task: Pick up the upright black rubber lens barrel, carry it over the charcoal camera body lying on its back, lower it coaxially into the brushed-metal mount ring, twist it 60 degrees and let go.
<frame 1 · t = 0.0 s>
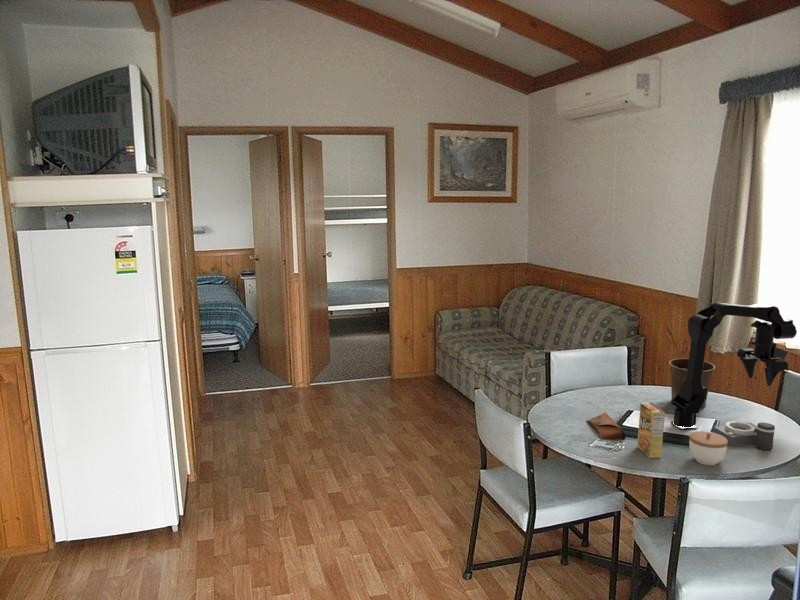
hand: (759, 381, 229), 15 cm above the table, fingers open, 9 cm apart
plant pot: (688, 404, 249), on the table
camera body: (738, 438, 216), on the table
lens: (763, 448, 208), on the table
lidded jar: (706, 461, 199), on the table
sunglasses case: (604, 431, 224), on the table
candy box: (649, 452, 206), on the table
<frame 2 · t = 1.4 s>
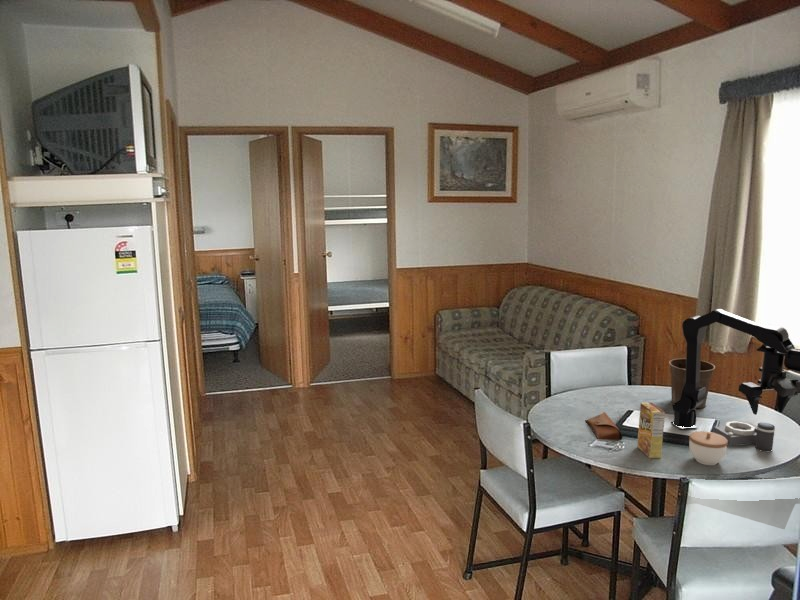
hand: (767, 413, 206), 12 cm above the table, fingers open, 9 cm apart
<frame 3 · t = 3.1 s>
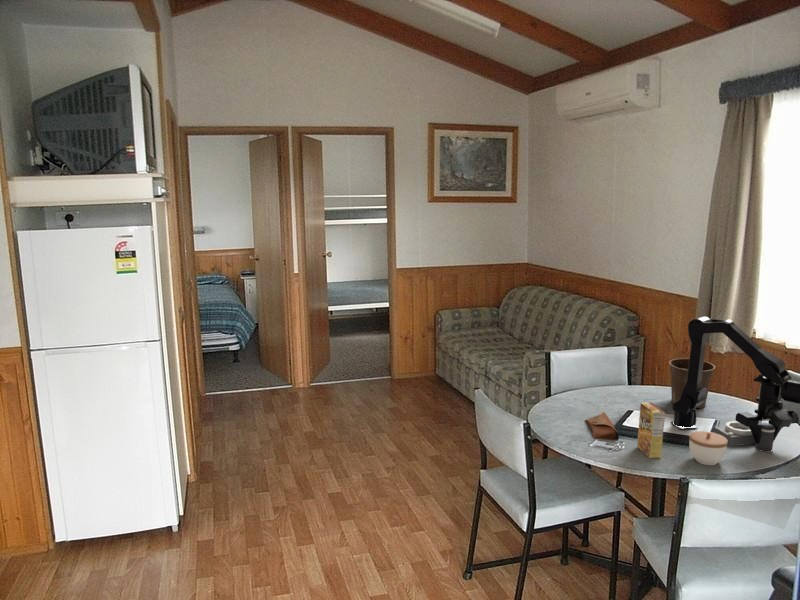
hand: (764, 442, 208), 2 cm above the table, fingers closed on lens, 5 cm apart
lens: (763, 448, 208), on the table, touching gripper
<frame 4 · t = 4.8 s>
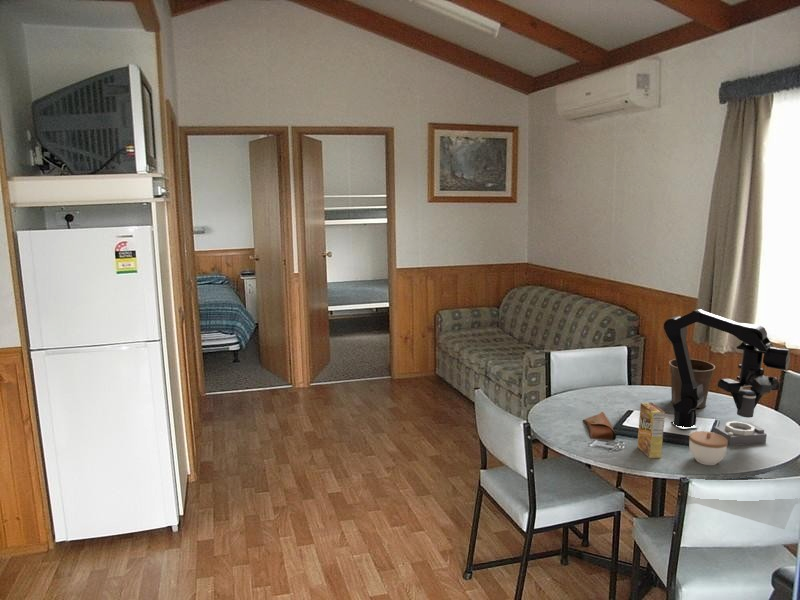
hand: (745, 408, 212), 11 cm above the table, fingers closed on lens, 5 cm apart
lens: (744, 414, 213), point 9 cm above the table, touching gripper
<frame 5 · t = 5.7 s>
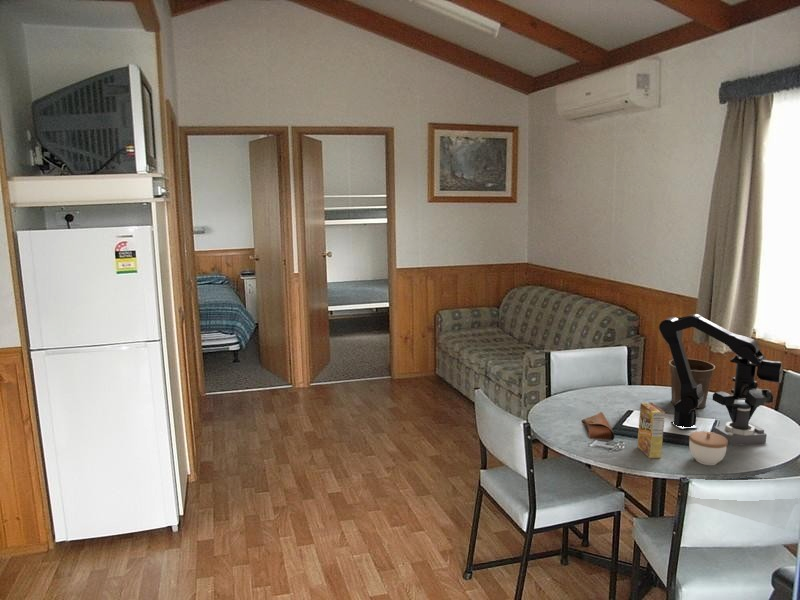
hand: (740, 421, 215), 6 cm above the table, fingers closed on lens, 5 cm apart
lens: (739, 427, 215), point 4 cm above the table, touching gripper
when the fingers open (5 cm above the table, at t = 6.6 s): lens stays where it is, resting on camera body.
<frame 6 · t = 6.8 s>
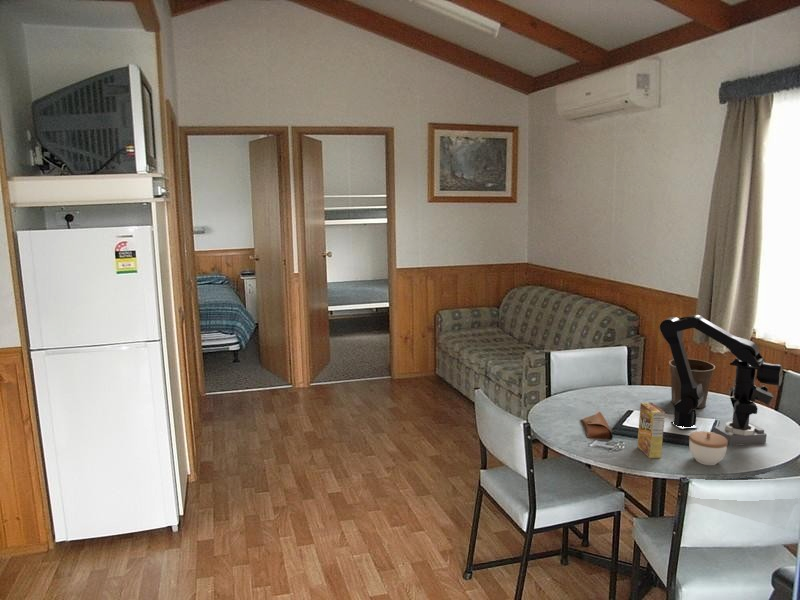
hand: (740, 424, 215), 5 cm above the table, fingers open, 6 cm apart
lens: (739, 430, 215), point 3 cm above the table, touching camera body
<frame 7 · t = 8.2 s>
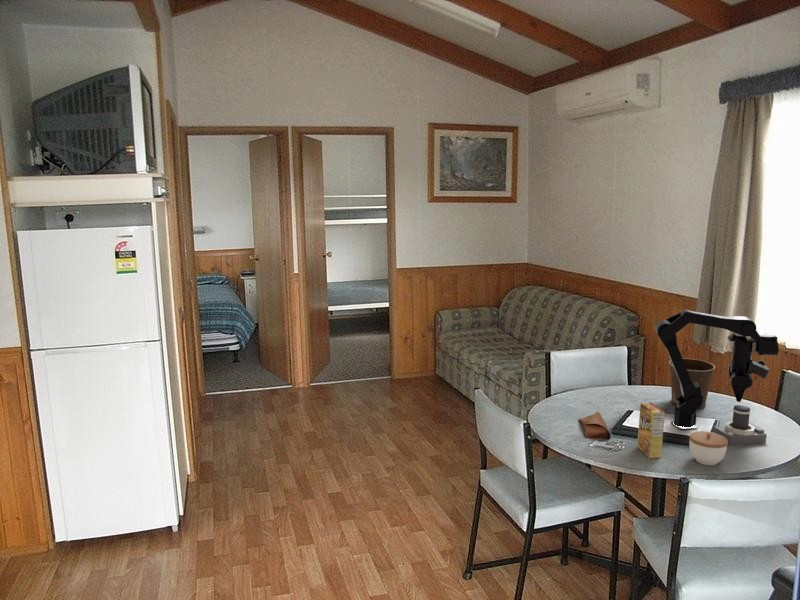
hand: (737, 397, 221), 12 cm above the table, fingers open, 9 cm apart
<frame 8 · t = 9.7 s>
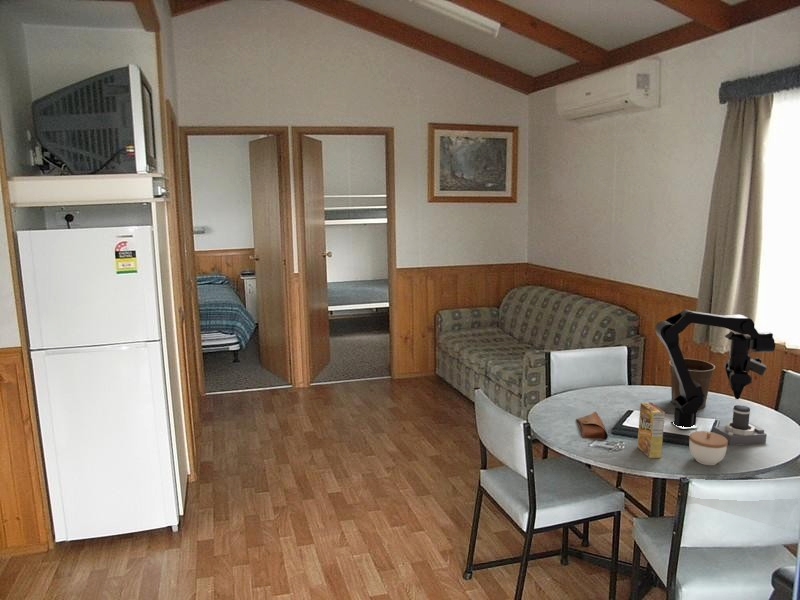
hand: (735, 394, 223), 12 cm above the table, fingers open, 9 cm apart
at the end: lens 0.0 cm off-centre on the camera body, point 3.0 cm above the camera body's base; lens tilted 0°; the gripper is holding nothing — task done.
